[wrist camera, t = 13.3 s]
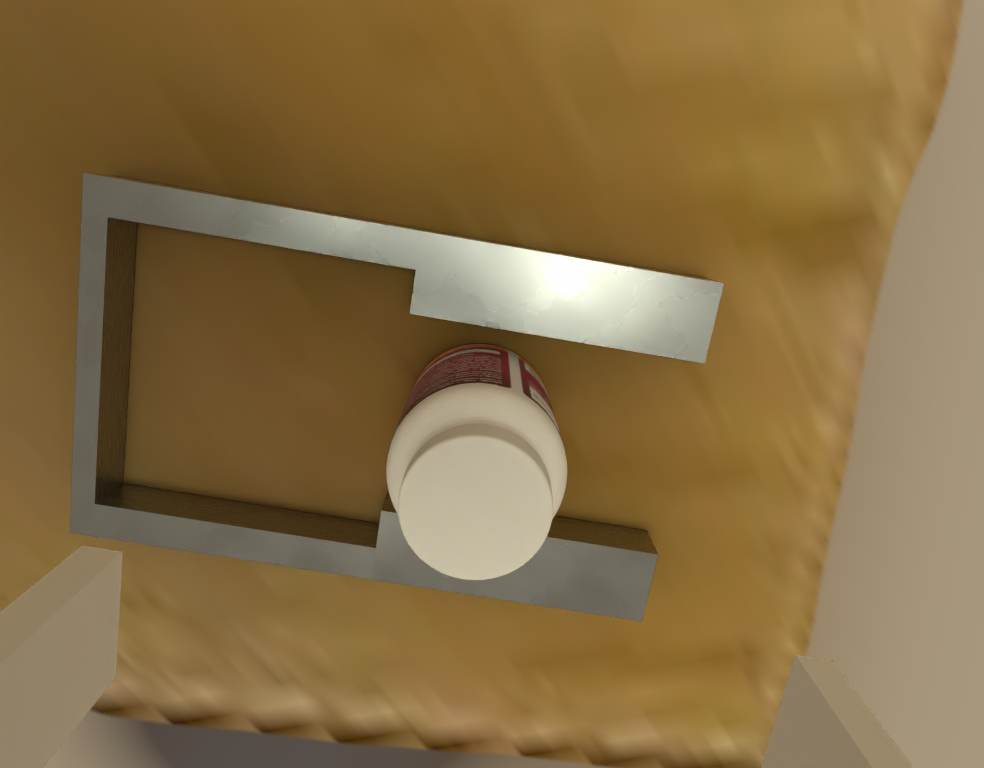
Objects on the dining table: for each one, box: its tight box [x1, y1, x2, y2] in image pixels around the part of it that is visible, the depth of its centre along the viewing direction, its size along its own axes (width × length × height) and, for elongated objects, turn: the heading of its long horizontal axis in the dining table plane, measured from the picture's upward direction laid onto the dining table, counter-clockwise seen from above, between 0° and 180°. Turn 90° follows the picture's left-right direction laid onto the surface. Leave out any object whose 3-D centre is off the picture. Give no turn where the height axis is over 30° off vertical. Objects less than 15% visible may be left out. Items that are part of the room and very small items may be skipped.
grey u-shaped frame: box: [70, 173, 724, 621], centre depth 31 cm, size 25×15×2 cm, turn 80°
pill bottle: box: [386, 344, 567, 580], centre depth 27 cm, size 6×6×11 cm
